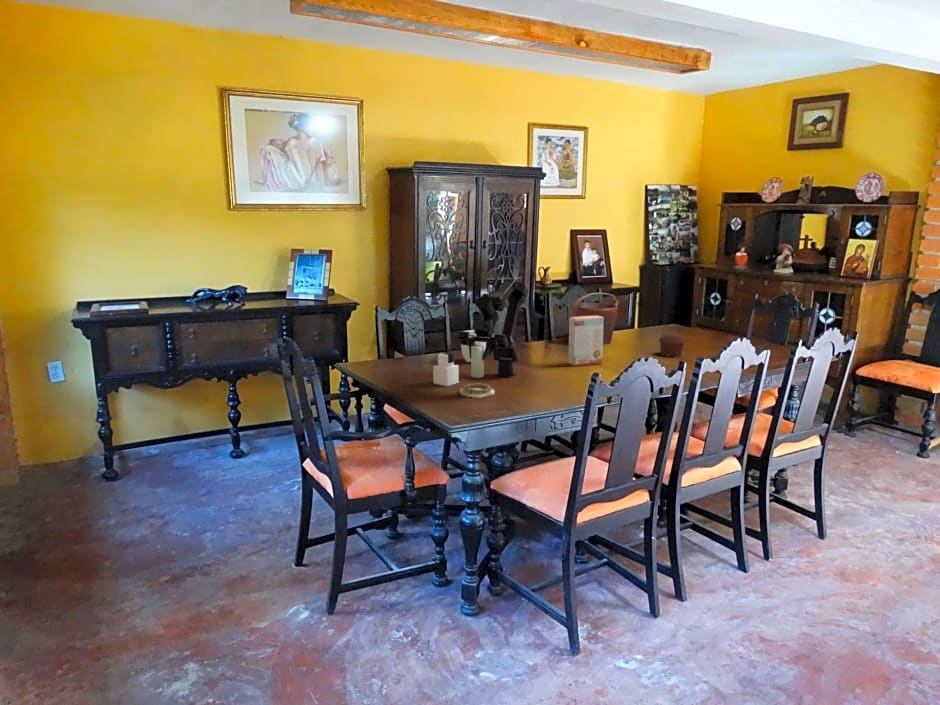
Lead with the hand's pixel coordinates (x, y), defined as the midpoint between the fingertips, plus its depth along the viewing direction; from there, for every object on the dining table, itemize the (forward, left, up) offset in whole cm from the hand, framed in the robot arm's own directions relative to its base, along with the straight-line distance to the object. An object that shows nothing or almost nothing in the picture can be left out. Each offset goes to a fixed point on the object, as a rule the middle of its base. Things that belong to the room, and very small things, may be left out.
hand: (476, 358), depth 248 cm
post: (-1, 0, -7) cm, 7 cm away
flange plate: (-1, 0, -13) cm, 13 cm away
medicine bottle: (-5, -18, -13) cm, 23 cm away
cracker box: (-68, +9, -13) cm, 70 cm away
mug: (-43, -32, -13) cm, 55 cm away
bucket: (-114, -10, -13) cm, 116 cm away
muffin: (-109, +32, -13) cm, 114 cm away
